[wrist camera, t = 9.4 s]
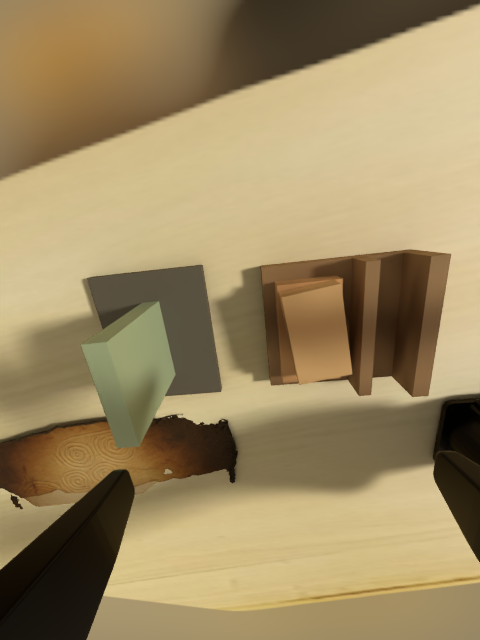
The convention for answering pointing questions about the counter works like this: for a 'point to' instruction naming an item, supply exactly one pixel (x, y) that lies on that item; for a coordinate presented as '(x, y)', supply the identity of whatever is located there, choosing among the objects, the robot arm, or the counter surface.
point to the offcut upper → (317, 331)
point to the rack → (375, 313)
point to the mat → (168, 319)
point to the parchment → (110, 458)
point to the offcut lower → (284, 346)
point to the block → (131, 371)
